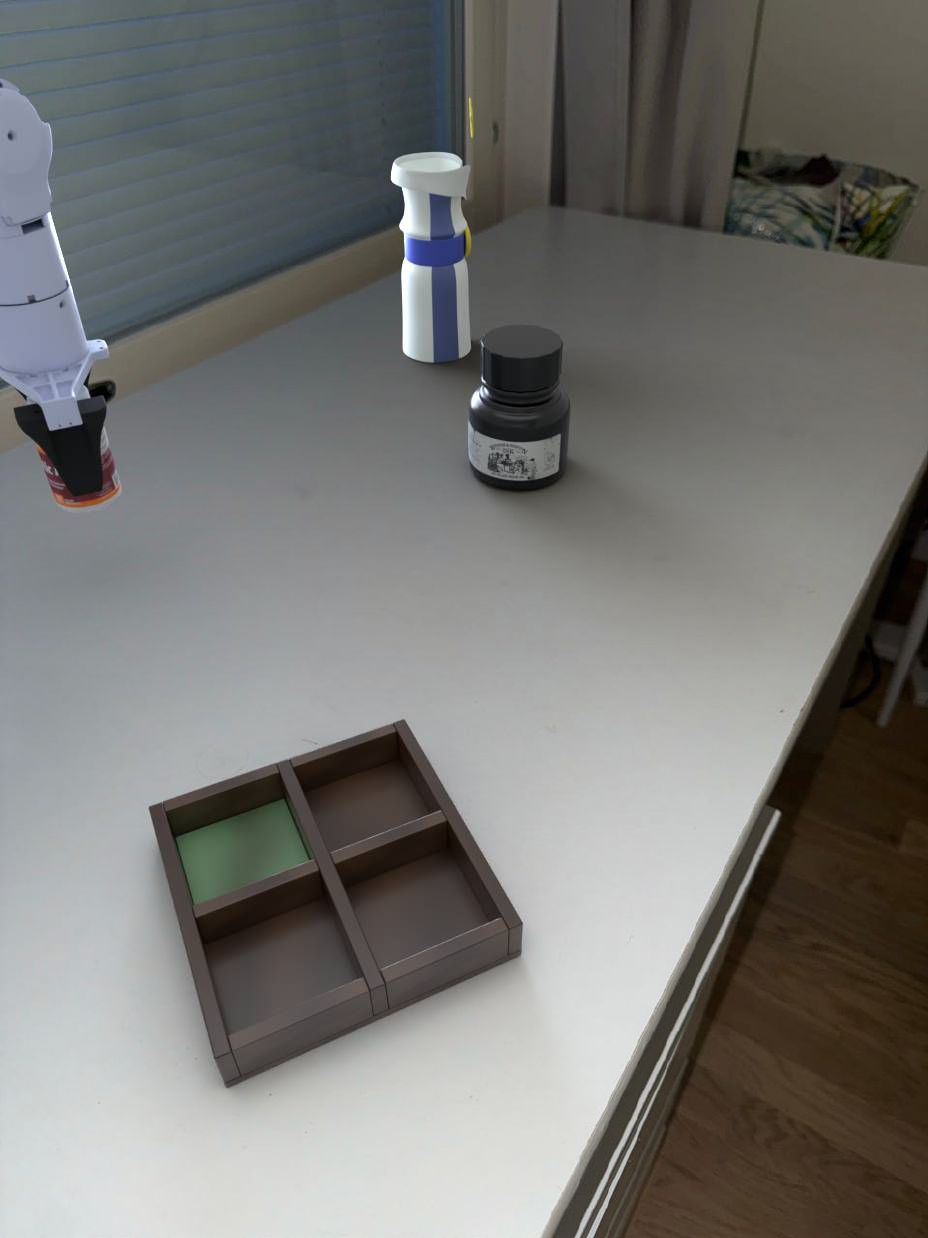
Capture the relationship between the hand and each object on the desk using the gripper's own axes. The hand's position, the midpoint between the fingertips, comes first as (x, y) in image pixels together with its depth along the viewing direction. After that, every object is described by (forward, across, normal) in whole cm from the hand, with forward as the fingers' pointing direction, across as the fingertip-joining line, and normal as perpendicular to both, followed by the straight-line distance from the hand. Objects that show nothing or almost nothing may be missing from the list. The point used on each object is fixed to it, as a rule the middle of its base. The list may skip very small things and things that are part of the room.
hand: (82, 474), depth 67 cm
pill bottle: (+2, 0, 0) cm, 2 cm away
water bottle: (+9, +26, -40) cm, 49 cm away
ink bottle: (+9, -1, -36) cm, 37 cm away
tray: (+9, -36, -6) cm, 37 cm away
